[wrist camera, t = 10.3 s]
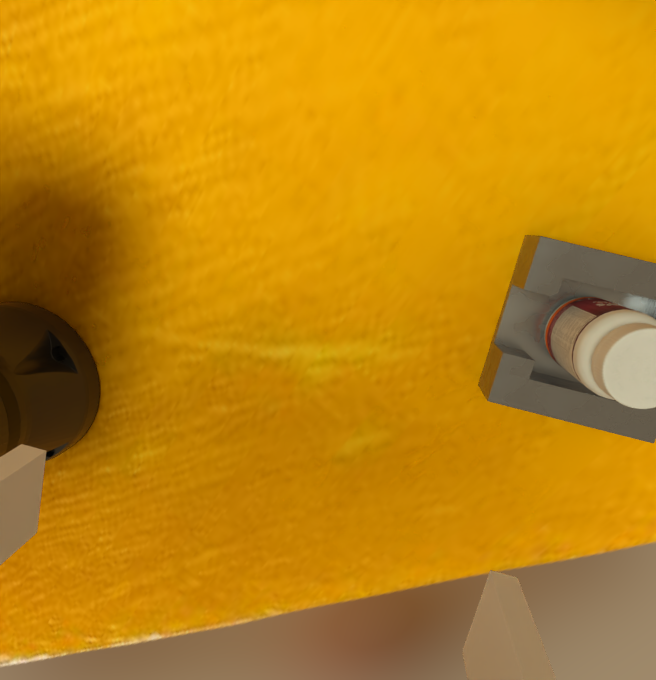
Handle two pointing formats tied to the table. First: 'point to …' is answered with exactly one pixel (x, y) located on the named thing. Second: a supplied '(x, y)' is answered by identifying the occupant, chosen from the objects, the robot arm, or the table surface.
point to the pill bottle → (606, 349)
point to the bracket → (529, 327)
